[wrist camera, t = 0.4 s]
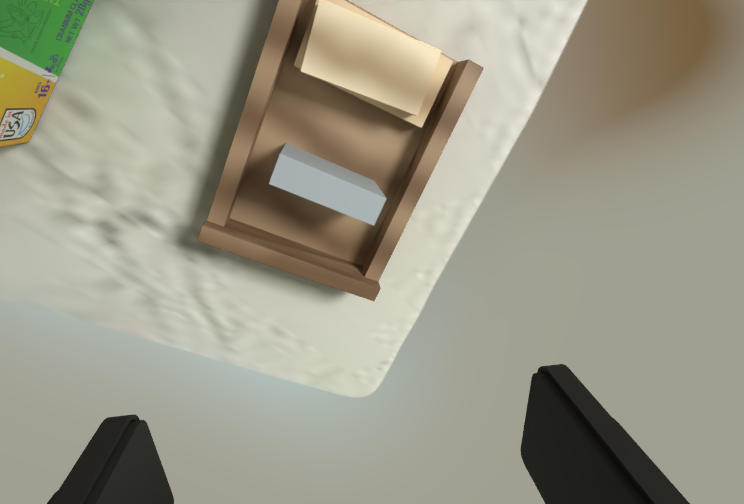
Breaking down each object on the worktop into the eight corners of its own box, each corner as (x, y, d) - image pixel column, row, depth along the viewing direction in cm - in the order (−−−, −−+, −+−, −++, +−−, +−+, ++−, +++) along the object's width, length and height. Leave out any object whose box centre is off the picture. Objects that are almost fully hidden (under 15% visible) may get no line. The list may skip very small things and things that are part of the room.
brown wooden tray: (294, -27, 32) (290, -47, 27) (468, 70, 36) (490, 66, 32) (211, 223, 39) (197, 241, 34) (367, 279, 43) (374, 301, 39)
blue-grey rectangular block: (286, 142, 36) (279, 153, 30) (374, 181, 38) (386, 198, 32) (276, 168, 37) (268, 183, 30) (364, 204, 39) (373, 225, 33)
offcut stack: (320, -7, 32) (321, -20, 28) (446, 62, 35) (461, 58, 32) (293, 69, 34) (291, 66, 30) (415, 128, 37) (426, 132, 33)
